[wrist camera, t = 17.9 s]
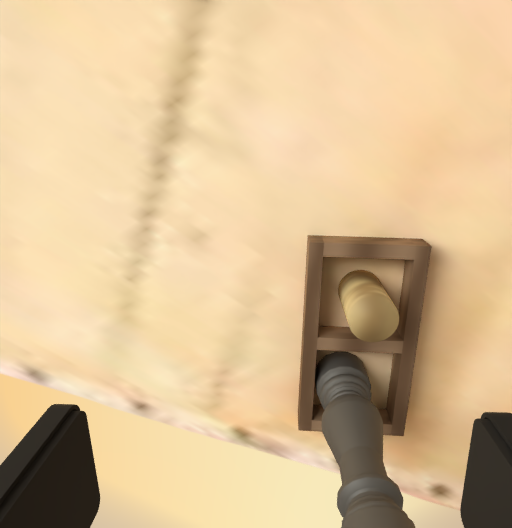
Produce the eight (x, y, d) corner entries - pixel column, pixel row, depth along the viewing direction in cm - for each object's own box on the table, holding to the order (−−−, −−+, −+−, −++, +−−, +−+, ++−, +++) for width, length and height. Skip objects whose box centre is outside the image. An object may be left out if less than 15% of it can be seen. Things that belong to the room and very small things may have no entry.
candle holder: (320, 347, 51) (353, 536, 27) (371, 356, 51) (448, 554, 27) (309, 390, 53) (331, 603, 29) (358, 400, 53) (420, 620, 29)
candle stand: (422, 239, 47) (449, 260, 39) (397, 419, 54) (416, 467, 46) (307, 235, 47) (312, 255, 40) (297, 414, 54) (300, 461, 47)
